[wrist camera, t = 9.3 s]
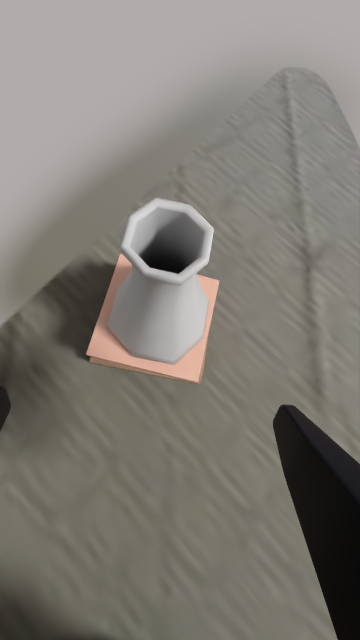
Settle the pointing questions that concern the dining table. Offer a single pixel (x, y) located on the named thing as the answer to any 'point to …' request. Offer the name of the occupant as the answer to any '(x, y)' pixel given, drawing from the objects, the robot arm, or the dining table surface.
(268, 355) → the dining table surface
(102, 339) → the terracotta slab
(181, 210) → the flask
